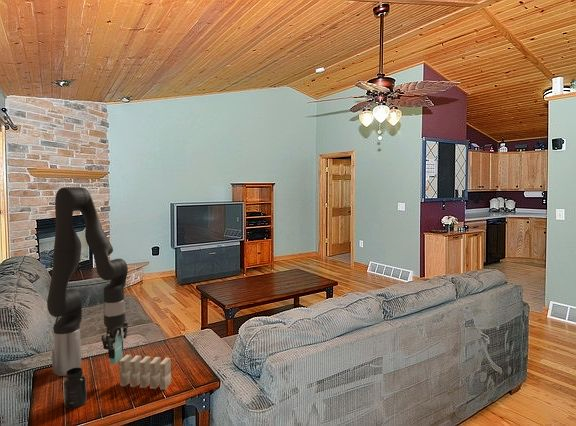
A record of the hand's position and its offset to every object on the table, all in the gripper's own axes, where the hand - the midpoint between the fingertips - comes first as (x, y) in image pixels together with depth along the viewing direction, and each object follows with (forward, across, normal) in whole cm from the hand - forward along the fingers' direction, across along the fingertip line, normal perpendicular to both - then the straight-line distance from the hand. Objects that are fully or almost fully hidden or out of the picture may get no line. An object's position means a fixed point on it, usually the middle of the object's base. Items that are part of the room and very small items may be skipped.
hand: (116, 354), depth 144 cm
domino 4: (+11, 0, +12) cm, 16 cm away
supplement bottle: (+11, +15, -6) cm, 20 cm away
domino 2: (+11, 0, +4) cm, 12 cm away
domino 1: (+2, 0, 0) cm, 2 cm away
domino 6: (+11, 0, +20) cm, 23 cm away
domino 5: (+11, 0, +16) cm, 19 cm away
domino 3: (+11, 0, +8) cm, 14 cm away
